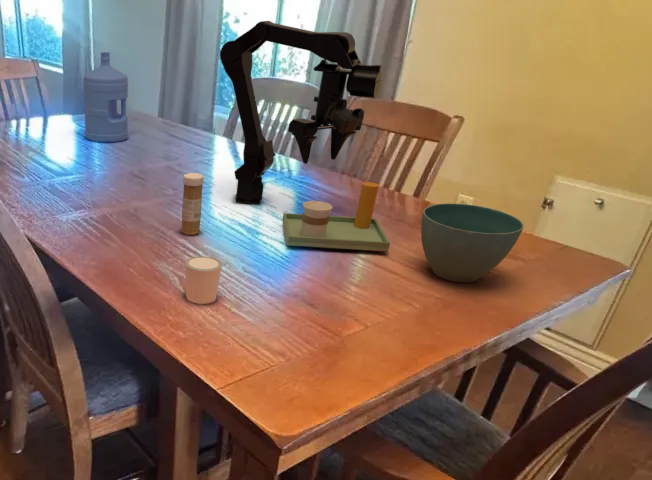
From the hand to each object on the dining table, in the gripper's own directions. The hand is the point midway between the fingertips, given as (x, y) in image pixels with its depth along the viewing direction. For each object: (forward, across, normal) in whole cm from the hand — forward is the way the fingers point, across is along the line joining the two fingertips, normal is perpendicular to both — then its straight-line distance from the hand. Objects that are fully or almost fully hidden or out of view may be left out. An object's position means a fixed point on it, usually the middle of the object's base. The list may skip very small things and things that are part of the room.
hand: (319, 161), depth 152 cm
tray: (+13, -9, -17) cm, 23 cm away
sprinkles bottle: (+13, -36, +2) cm, 38 cm away
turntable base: (+13, -9, -17) cm, 23 cm away
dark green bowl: (+13, 0, -44) cm, 45 cm away
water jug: (+14, -11, +96) cm, 98 cm away
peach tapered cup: (+13, -53, -28) cm, 61 cm away
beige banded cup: (+11, -15, -16) cm, 25 cm away
